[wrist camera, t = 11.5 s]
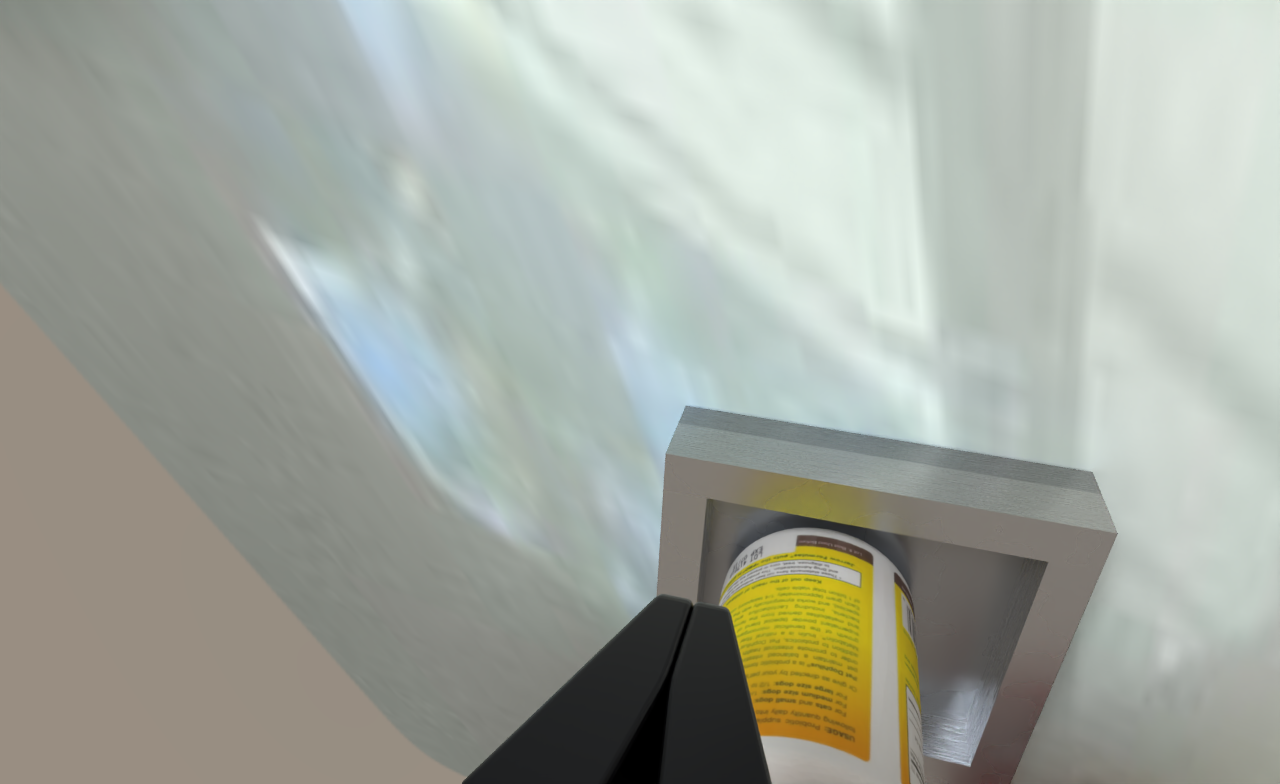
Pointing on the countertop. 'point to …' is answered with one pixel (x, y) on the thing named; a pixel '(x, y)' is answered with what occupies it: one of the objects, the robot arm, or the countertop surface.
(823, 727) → the supplement bottle
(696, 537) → the square metal tray
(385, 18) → the countertop surface
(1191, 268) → the countertop surface
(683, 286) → the countertop surface
